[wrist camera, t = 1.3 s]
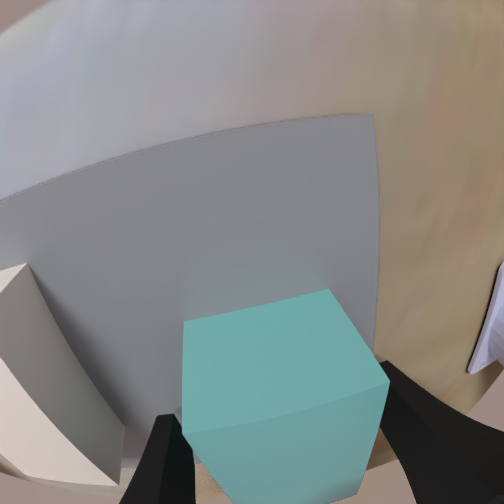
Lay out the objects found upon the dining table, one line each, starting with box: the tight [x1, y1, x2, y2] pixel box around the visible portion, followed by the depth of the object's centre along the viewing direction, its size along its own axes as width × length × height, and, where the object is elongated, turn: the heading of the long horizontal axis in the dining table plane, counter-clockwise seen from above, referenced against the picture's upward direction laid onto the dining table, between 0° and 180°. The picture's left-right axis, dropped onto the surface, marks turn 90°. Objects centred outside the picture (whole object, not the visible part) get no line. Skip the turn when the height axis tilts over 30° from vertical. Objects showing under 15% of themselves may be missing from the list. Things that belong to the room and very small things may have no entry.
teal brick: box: [182, 289, 390, 504], centre depth 9 cm, size 4×8×4 cm, turn 10°
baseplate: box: [0, 113, 379, 486], centre depth 9 cm, size 18×14×4 cm
